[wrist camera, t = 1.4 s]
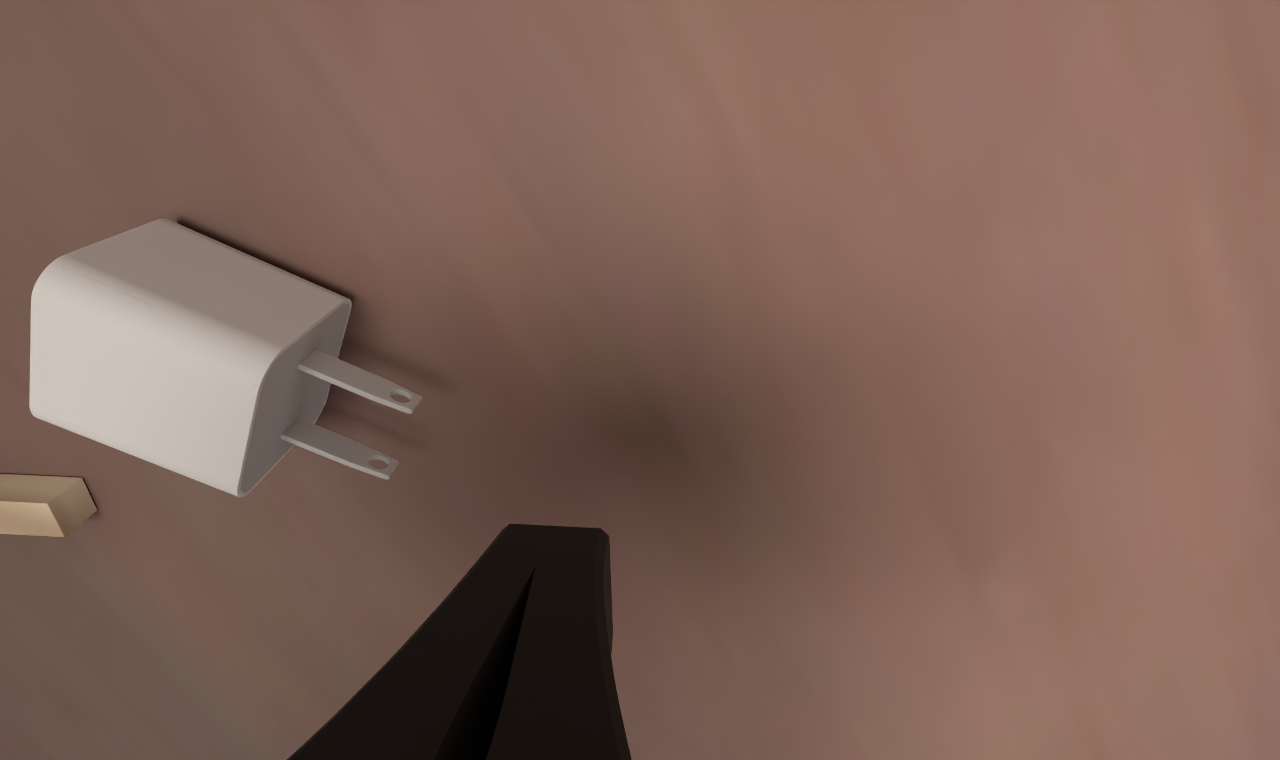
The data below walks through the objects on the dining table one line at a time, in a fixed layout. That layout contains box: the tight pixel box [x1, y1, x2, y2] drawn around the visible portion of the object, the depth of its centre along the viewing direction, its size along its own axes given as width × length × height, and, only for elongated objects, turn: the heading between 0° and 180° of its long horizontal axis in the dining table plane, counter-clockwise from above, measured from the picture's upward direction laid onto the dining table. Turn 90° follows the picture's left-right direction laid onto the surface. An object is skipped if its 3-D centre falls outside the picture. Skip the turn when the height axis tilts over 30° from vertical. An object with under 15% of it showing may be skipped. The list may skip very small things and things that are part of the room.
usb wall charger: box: [30, 218, 422, 497], centre depth 16 cm, size 4×7×4 cm, turn 65°
